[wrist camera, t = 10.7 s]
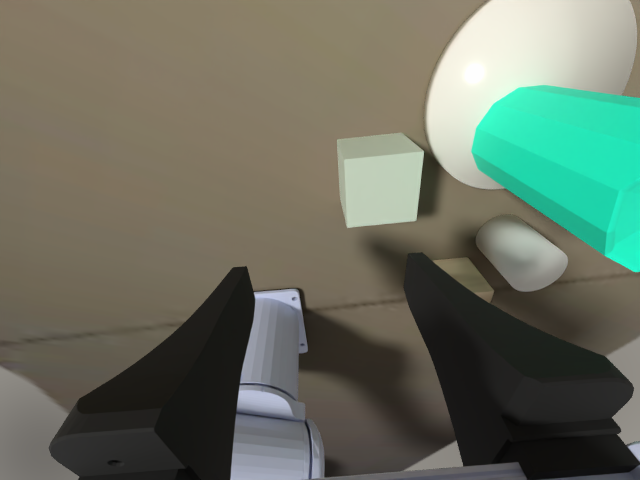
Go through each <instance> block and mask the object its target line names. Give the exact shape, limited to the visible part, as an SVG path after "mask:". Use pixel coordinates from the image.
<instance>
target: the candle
mask: <svg viewBox="0 0 640 480" xmlns="http://www.w3.org/2000/svg"><path fill="white" fill-rule="evenodd" d="M471 152H472V155H473V157H474V160H475V163H476V165H477V168H478V170H480V171H481V172H483V173H484V174H486V175H487V176H489V177H490V178H491V179H493V180H494V181H496V182H497V183H499V184H500V185H502V186H503V187H505V188H506V189H508V190H509V191H511V192H512V193H513V194H515V195H516V196H518V197H519V198H521V199H522V200H524V201H525V202H527V203H528V204H530V205H531V206H533V207H534V208H536V209H537V210H538V211H540V212H541V213H543V214H544V215H546V216H547V217H549V218H550V219H552V220H553V221H555V222H556V223H558V224H559V225H560V226H562V227H563V228H565V229H566V230H568V231H569V232H571V233H572V234H574V235H575V236H577V237H578V238H580V239H581V240H582V241H584V242H585V243H587V244H588V245H590V246H591V247H593V248H594V249H596V250H597V251H599V252H600V253H602V254H603V255H604V256H606V257H608V258H610V259H612V260H614V261H616V262H617V263H619V264H621V265H623V266H625V267H627V268H629V269H630V270H632V271H634V272H640V98H635V97H628V96H621V95H614V94H607V93H599V92H592V91H585V90H578V89H571V88H564V87H556V86H549V85H538V86H528V87H519V88H517V89H516V90H514V91H512V92H511V93H509V94H508V95H506V96H505V97H503V98H501V99H500V100H498V101H497V102H495V103H494V104H493V105H492V106H491V108H490V109H489V110H488V112H487V113H486V115H485V116H484V117H483V119H482V120H481V121H480V123H479V124H478V126H477V127H476V131H475V136H474V140H473V145H472V150H471Z"/></svg>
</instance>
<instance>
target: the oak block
mask: <svg viewBox="0 0 640 480" xmlns="http://www.w3.org/2000/svg"><path fill="white" fill-rule="evenodd" d="M432 261H433V262H434V263H435V264H437V265H438V266H439V267H440V268H441V269H443V270H444V271H445V272H446V273H448V274H449V275H450V276H451V277H453V278H454V279H455V280H457V281H458V282H459V283H461V284H462V285H463V286H465V287H466V288H467V289H469V290H470V291H472V292H473V293H475V294H476V295H478V296H479V297H481V298H482V299H484V300H485V301H487V302H488V303H490V302H491V299H492V296H493V294H494V290H493V289H492V287H491V286H490V285H489V284H488V282H487V281H486V280H485V279H484V277H483V276H482V275H481V274H480V272H479V271H478V270H477V268H476V267H475V266H474V265H473V263H472V262H471V261H470V260H469V258H468V257H464V258H453V259H442V260H432Z"/></svg>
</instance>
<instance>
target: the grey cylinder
mask: <svg viewBox="0 0 640 480" xmlns="http://www.w3.org/2000/svg"><path fill="white" fill-rule="evenodd" d="M476 246H477V247H478V249H479V250H480V251H481V252H482V253H483V254H484V255H485V257H486V258H487V259H488V260H489V261H490V262H491V263H492V264H493V266H494V267H495V268H496V269H497V270H498V271H499V272H500V274H501V275H502V276H503V277H504V278H505V279H506V280H507V281H508V283H509V284H510V285H511V286H512V287H513V288H514V289H516V290H518V291H523V292H529V291H535V290H539V289H542V288H544V287H546V286H548V285H550V284H552V283H553V282H554V281H556V280H557V279H558V278H559V277H560V276H561V275H562V274H563V273H564V271H565V269H566V267H567V264H568V258H567V256H566V254H565V253H564V252H562V251H561V250H560V249H559V248H557V247H556V246H555V245H553V244H552V243H551V242H550V241H548V240H547V239H546V238H544V237H543V236H542V235H541V234H539V233H538V232H537V231H535V230H534V229H533V228H532V227H530V226H529V225H528V224H526V223H525V222H524V221H523V220H521V219H520V218H519V217H517V216H515V215H511V214H505V215H500V216H497V217H494V218H492V219H491V220H489V221H487V222H486V223H485V224H484V225H483V226H482V227H481V228H480V230H479V231H478V233H477V235H476Z"/></svg>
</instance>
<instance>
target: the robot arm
mask: <svg viewBox="0 0 640 480" xmlns="http://www.w3.org/2000/svg"><path fill="white" fill-rule="evenodd" d="M404 291H405V294H406V298H407V301H408V305H409V308H410V310H411V312H412V315H413V317H414V319H415V322H416V324H417V326H418V328H419V330H420V333H421V335H422V337H423V339H424V342H425V344H426V346H427V348H428V351H429V353H430V355H431V358H432V361H433V363H434V366H435V369H436V372H437V375H438V378H439V381H440V385H441V388H442V391H443V394H444V398H445V401H446V404H447V407H448V411H449V414H450V418H451V421H452V425H453V428H454V432H455V436H456V439H457V443H458V447H459V451H460V455H461V459H462V462H463V467H452V468H439V469H428V470H415V471H402V472H390V473H377V474H365V475H352V476H340V477H327V478H324V467H325V464H324V449H323V443H322V438H321V435H320V433H319V431H318V429H317V427H316V425H315V423H314V422H313V421H312V420H311V419H305V404H304V403H301V402H298V370H299V353H306V352H307V351H308V345H307V339H306V333H305V326H304V320H303V313H302V307H301V301H300V294H299V291H298V290H297V289H285V290H273V291H262V292H253V288H252V284H251V281H250V277H249V273H248V269H247V266H245V267H233V268H232V269H231V271H230V272H229V273H228V274H227V275H226V277H225V278H224V279H223V280H222V282H221V283H220V284H219V285H218V286H217V288H216V289H215V290H214V291H213V292H212V294H211V295H210V296H209V297H208V298H207V299H206V301H205V302H204V303H203V304H202V305H201V306H200V307H199V308H198V309H197V310H196V312H195V313H194V314H193V315H192V316H191V317H190V318H189V319H188V320H187V321H186V322H185V323H184V324H183V325H182V326H181V327H179V328H178V329H177V330H176V331H175V332H174V333H173V334H172V335H171V336H169V337H168V338H167V339H166V340H165V341H163V342H162V343H161V344H160V345H158V346H157V347H156V348H155V349H153V350H152V351H151V352H150V353H148V354H147V355H146V356H144V357H143V358H142V359H140V360H139V361H137V362H136V363H135V364H133V365H132V366H130V367H129V368H128V369H126V370H125V371H123V372H122V373H120V374H119V375H117V376H116V377H114V378H113V379H111V380H109V381H108V382H106V383H105V384H103V385H101V386H100V387H98V388H96V389H95V390H93V391H92V392H90V393H88V394H87V395H85V396H83V397H82V398H80V399H79V400H78V402H77V403H76V404H75V406H74V408H73V409H72V411H71V412H70V414H69V415H68V417H67V418H66V420H65V421H64V423H63V425H62V426H61V428H60V429H59V431H58V432H57V434H56V435H55V437H54V439H53V440H52V442H51V443H50V446H49V450H50V453H51V456H52V457H53V458H54V459H55V460H56V461H58V462H59V463H60V464H62V465H63V466H65V467H66V468H68V469H69V470H71V471H72V472H74V473H75V474H77V475H78V476H79V479H78V480H640V441H638V442H633V443H630V444H627V445H625V444H624V442H623V441H622V440H621V439H620V437H619V436H618V435H617V434H619V433H620V432H621V429H620V427H619V426H618V425H617V424H616V422H615V421H614V420H613V419H612V418H611V417H613V416H614V415H615V414H616V413H617V412H618V411H619V410H620V409H621V408H622V407H623V406H624V405H625V404H626V403H627V402H628V401H629V400H630V398H631V397H632V394H633V391H634V387H633V385H632V383H631V382H630V381H629V380H628V379H627V378H626V377H625V376H624V375H623V374H622V373H621V372H620V371H619V370H618V369H617V368H616V367H615V366H614V365H613V364H612V363H611V362H610V361H609V360H608V359H607V358H606V357H605V356H602V355H600V354H597V353H595V352H592V351H589V350H587V349H584V348H581V347H579V346H576V345H573V344H571V343H568V342H566V341H563V340H561V339H559V338H557V337H554V336H552V335H550V334H547V333H545V332H543V331H541V330H539V329H536V328H534V327H532V326H530V325H528V324H526V323H524V322H522V321H520V320H518V319H516V318H515V317H513V316H511V315H509V314H507V313H505V312H504V311H502V310H500V309H498V308H497V307H495V306H493V305H492V304H490V303H488V302H487V301H485V300H484V299H482V298H481V297H479V296H478V295H476V294H475V293H473V292H472V291H470V290H469V289H467V288H466V287H465V286H463V285H462V284H461V283H459V282H458V281H457V280H455V279H454V278H453V277H451V276H450V275H449V274H448V273H446V272H445V271H444V270H443V269H441V268H440V267H439V266H438V265H437V264H435V263H434V262H433V261H432V260H430V259H429V258H428V257H427V256H426V255H424V254H423V253H411V254H408V259H407V266H406V274H405V281H404ZM293 297H296V298H293Z"/></svg>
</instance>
